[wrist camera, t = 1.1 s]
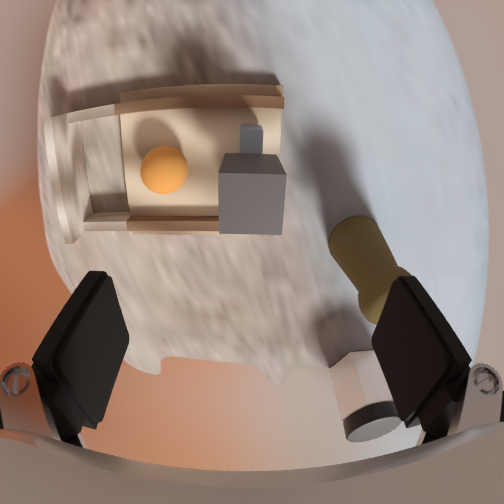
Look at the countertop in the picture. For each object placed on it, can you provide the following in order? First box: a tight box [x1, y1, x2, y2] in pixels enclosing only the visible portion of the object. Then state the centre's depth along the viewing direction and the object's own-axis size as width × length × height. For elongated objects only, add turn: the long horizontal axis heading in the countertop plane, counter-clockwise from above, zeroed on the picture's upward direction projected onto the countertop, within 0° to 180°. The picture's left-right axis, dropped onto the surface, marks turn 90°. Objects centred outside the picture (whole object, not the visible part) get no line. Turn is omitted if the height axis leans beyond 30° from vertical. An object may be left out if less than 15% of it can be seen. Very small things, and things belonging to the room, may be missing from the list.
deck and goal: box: [43, 84, 284, 244], centre depth 23 cm, size 14×20×5 cm
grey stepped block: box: [218, 124, 286, 235], centre depth 20 cm, size 7×4×9 cm, turn 178°
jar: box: [330, 350, 401, 442], centre depth 36 cm, size 9×8×12 cm
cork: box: [329, 216, 412, 325], centre depth 25 cm, size 6×6×11 cm
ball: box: [140, 146, 188, 194], centre depth 22 cm, size 4×4×4 cm
